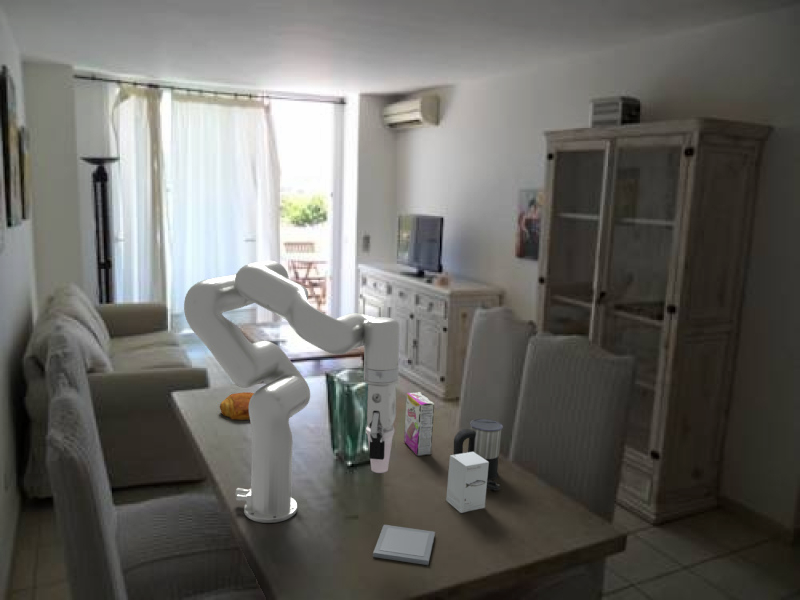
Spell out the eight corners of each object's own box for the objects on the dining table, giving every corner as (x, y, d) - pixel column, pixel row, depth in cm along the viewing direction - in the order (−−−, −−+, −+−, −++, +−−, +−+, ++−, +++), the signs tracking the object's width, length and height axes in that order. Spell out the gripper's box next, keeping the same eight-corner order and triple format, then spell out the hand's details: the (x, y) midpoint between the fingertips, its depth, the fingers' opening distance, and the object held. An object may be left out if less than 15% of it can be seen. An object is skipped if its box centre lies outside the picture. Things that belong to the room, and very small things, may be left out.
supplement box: (461, 514, 157) (464, 466, 155) (445, 500, 163) (448, 454, 161) (485, 508, 160) (489, 461, 158) (469, 495, 167) (473, 450, 165)
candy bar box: (402, 442, 200) (405, 392, 197) (417, 440, 202) (420, 391, 199) (416, 456, 190) (420, 404, 187) (431, 455, 191) (435, 403, 189)
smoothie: (390, 476, 138) (391, 415, 136) (362, 473, 139) (362, 412, 137) (396, 465, 144) (397, 405, 142) (369, 462, 146) (369, 403, 143)
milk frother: (482, 464, 187) (486, 416, 184) (522, 485, 175) (527, 434, 172) (446, 474, 179) (449, 424, 176) (485, 498, 166) (489, 444, 164)
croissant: (221, 413, 222) (217, 392, 220) (266, 405, 226) (263, 384, 224) (222, 427, 208) (218, 404, 207) (269, 419, 212) (266, 396, 211)
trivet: (372, 556, 136) (373, 552, 136) (383, 528, 148) (383, 524, 148) (428, 565, 134) (428, 560, 134) (434, 535, 146) (434, 531, 146)
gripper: (391, 386, 129) (389, 469, 132) (404, 365, 146) (402, 439, 149) (355, 384, 131) (354, 466, 133) (372, 363, 148) (371, 437, 150)
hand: (379, 451), depth 141 cm, fingers closed on smoothie, 6 cm apart
